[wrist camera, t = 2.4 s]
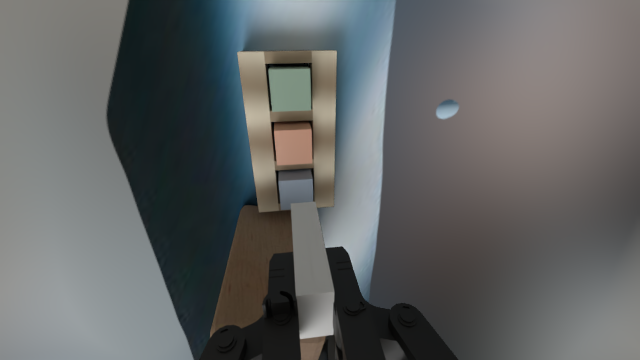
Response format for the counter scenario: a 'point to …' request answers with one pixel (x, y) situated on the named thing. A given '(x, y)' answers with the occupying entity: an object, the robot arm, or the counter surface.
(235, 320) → the block
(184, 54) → the counter surface
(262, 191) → the wooden slotted tray
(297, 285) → the robot arm
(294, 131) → the terracotta button
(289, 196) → the grey small cube
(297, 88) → the green button
